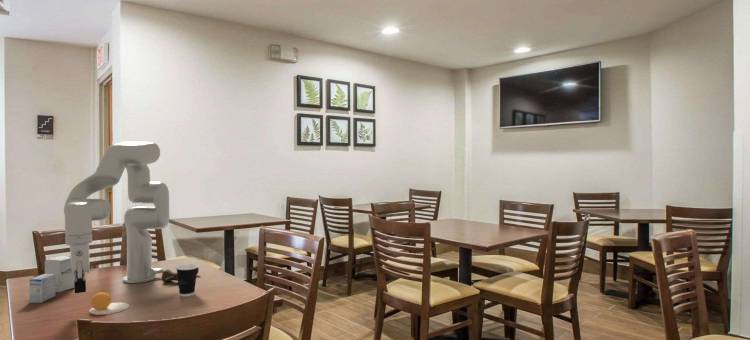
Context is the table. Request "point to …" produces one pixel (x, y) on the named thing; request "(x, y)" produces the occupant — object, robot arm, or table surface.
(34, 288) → the medicine box
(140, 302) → the table surface
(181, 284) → the dixie cup
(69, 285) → the supplement box
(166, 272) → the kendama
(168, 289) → the table surface
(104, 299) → the ball
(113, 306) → the disc
